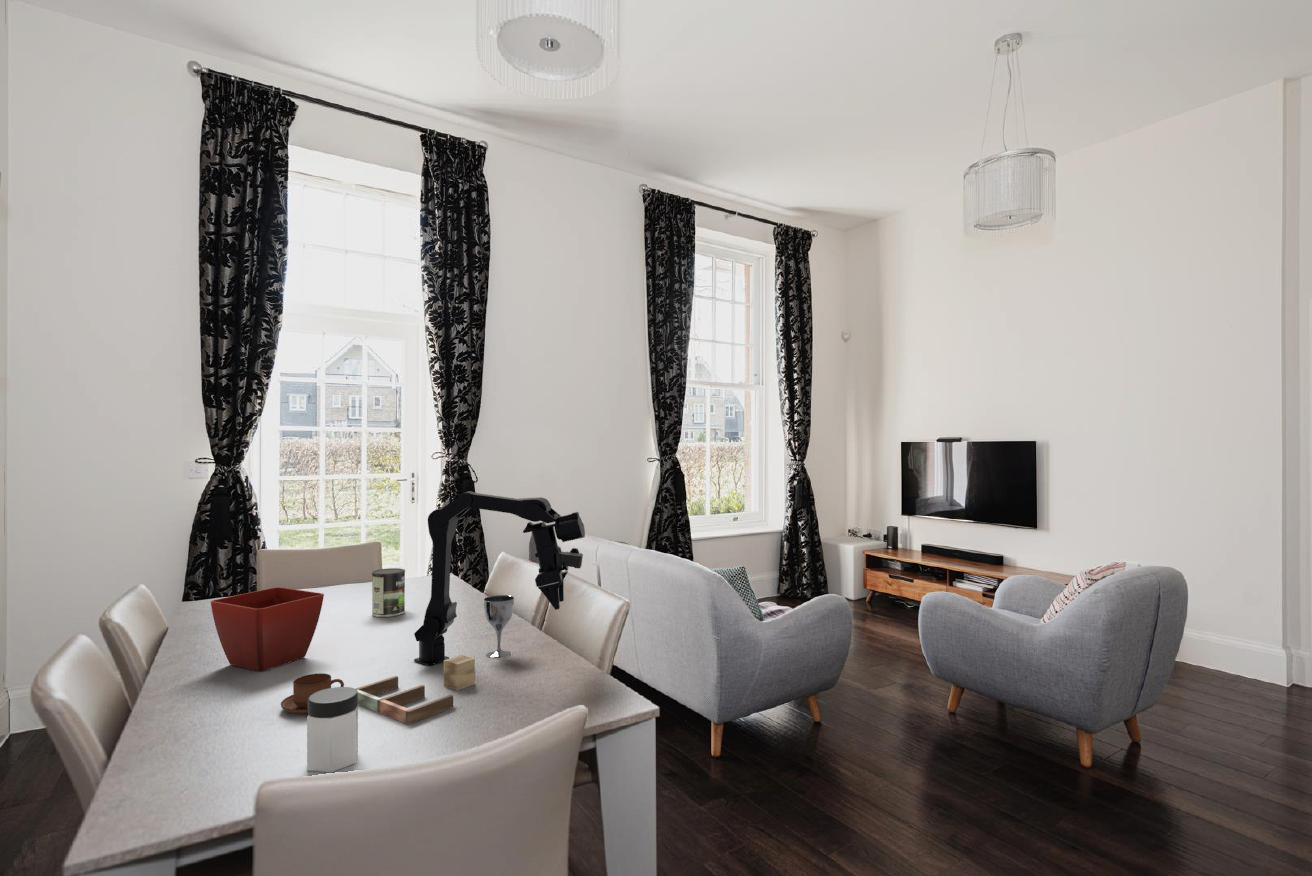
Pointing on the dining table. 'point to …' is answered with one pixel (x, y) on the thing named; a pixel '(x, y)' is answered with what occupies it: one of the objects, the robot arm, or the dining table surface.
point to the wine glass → (498, 619)
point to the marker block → (459, 672)
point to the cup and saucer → (306, 691)
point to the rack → (400, 701)
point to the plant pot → (267, 626)
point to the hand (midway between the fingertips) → (559, 605)
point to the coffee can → (388, 592)
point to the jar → (332, 729)
